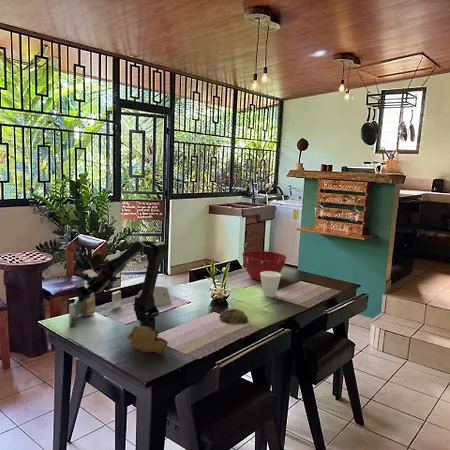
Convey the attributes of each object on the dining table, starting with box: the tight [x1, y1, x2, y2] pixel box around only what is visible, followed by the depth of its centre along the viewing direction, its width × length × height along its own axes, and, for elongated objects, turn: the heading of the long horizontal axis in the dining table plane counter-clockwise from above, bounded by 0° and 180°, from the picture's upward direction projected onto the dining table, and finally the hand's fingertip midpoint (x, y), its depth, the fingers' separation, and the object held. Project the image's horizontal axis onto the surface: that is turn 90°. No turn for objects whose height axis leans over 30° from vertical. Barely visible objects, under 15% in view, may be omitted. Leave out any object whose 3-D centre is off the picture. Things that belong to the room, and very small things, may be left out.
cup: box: [260, 271, 282, 298], centre depth 229 cm, size 12×12×12 cm
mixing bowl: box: [241, 250, 288, 282], centre depth 262 cm, size 28×28×15 cm
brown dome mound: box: [219, 308, 248, 324], centre depth 192 cm, size 13×12×5 cm
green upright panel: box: [73, 296, 80, 323], centre depth 187 cm, size 22×2×8 cm, turn 10°
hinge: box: [137, 285, 172, 307], centre depth 207 cm, size 17×5×10 cm, turn 124°
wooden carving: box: [126, 325, 169, 354], centre depth 155 cm, size 16×5×10 cm, turn 75°
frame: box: [68, 290, 122, 329], centre depth 187 cm, size 31×2×10 cm, turn 153°
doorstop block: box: [78, 283, 96, 317], centre depth 188 cm, size 5×5×13 cm
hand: (84, 298), depth 188 cm, fingers closed on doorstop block, 5 cm apart
